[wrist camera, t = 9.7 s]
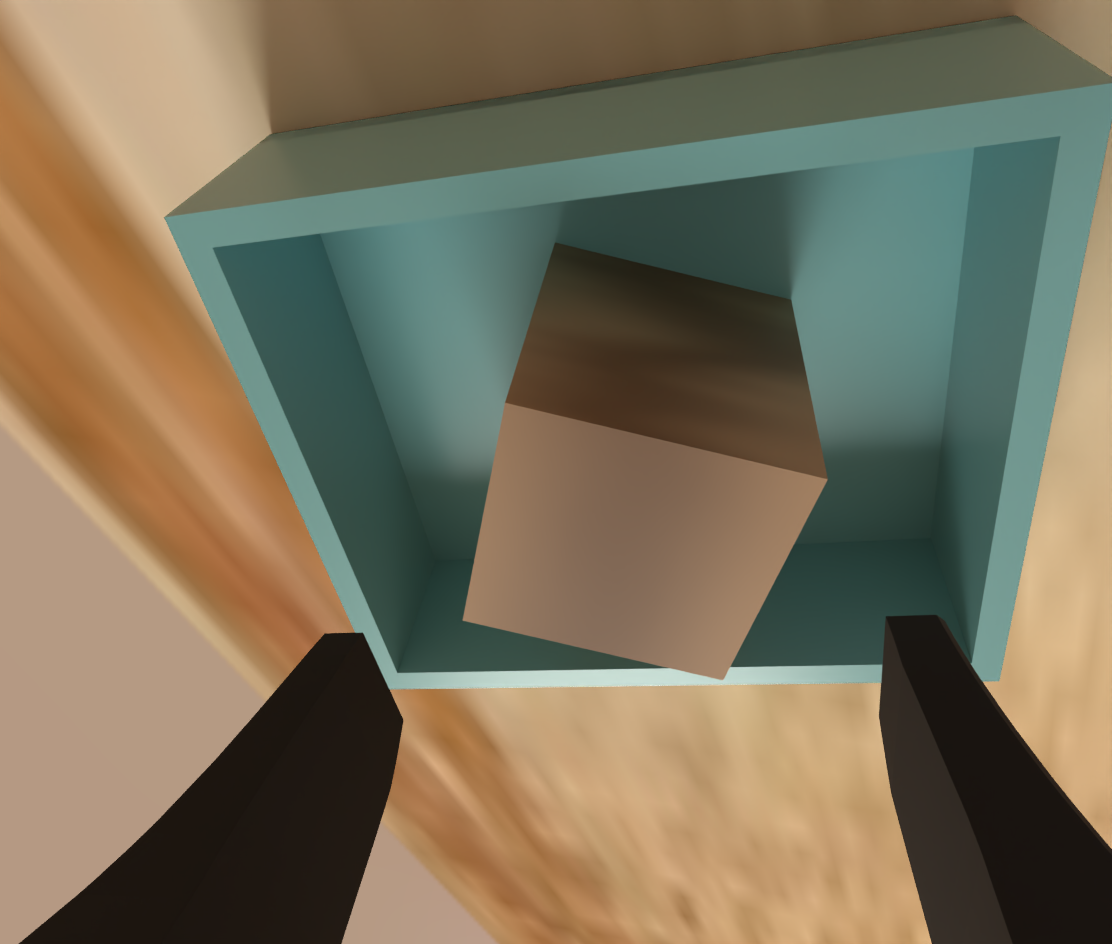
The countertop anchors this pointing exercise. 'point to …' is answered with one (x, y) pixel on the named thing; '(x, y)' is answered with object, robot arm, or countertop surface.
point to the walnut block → (646, 465)
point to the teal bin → (698, 250)
